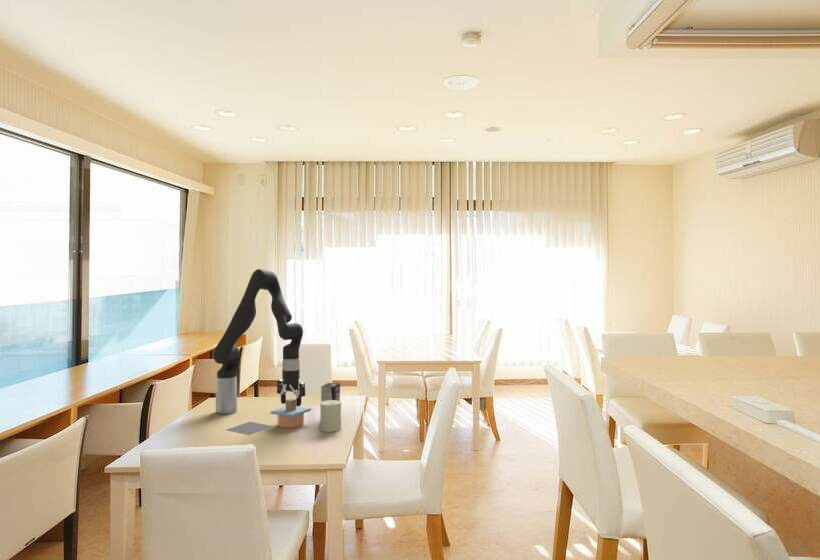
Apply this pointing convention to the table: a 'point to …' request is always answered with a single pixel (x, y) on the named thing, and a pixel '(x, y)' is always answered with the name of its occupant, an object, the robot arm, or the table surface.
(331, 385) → the coffee box
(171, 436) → the table surface
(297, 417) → the bowl
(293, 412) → the lid
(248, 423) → the mat
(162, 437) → the table surface
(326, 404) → the can
